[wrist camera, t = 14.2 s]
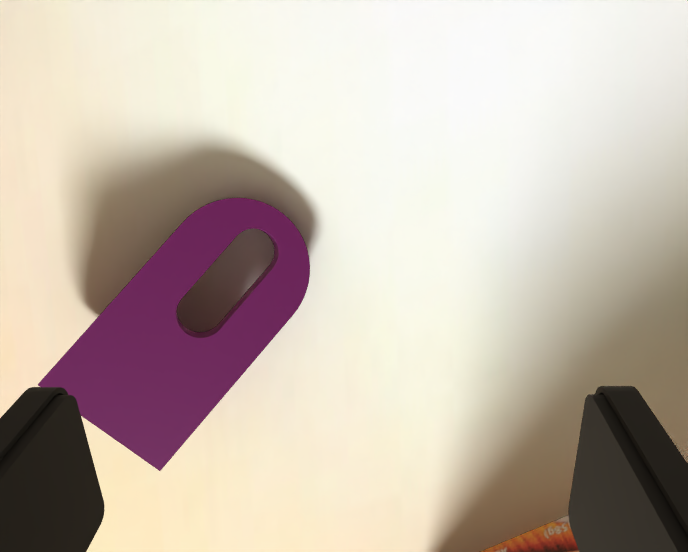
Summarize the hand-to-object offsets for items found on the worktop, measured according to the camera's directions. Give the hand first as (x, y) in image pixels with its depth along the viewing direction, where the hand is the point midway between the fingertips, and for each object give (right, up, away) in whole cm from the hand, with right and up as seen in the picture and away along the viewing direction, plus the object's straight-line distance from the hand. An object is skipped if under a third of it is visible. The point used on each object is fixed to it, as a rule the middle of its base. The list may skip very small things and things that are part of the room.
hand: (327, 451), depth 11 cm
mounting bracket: (-10, +2, +33) cm, 35 cm away
